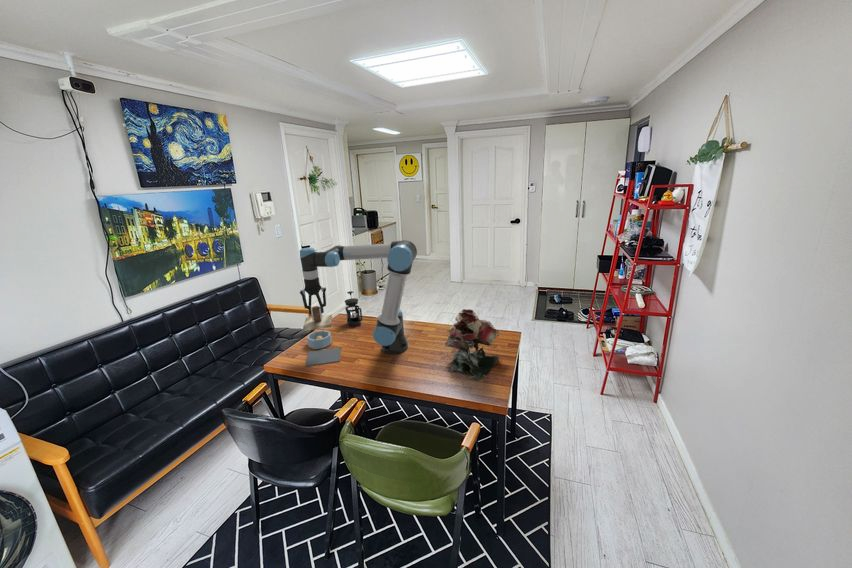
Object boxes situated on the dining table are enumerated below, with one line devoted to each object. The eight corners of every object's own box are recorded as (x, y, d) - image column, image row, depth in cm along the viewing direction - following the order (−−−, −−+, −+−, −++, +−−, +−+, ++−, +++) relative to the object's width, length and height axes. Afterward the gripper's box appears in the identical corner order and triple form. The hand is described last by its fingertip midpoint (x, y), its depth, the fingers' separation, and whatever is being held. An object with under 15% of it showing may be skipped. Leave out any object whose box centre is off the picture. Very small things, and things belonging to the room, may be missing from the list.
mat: (340, 348, 207) (340, 347, 207) (339, 361, 192) (339, 360, 192) (308, 352, 204) (308, 351, 204) (305, 366, 189) (305, 365, 189)
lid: (332, 317, 200) (329, 301, 197) (331, 327, 187) (328, 310, 184) (306, 320, 197) (303, 304, 194) (303, 330, 184) (300, 313, 181)
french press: (343, 325, 238) (339, 293, 231) (351, 320, 246) (347, 289, 239) (358, 327, 233) (354, 294, 226) (366, 322, 242) (362, 290, 235)
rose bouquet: (502, 355, 190) (503, 302, 181) (482, 383, 166) (482, 324, 157) (459, 345, 203) (457, 296, 193) (434, 370, 179) (431, 315, 170)
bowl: (331, 338, 221) (330, 329, 219) (330, 347, 209) (329, 338, 207) (310, 341, 218) (308, 332, 216) (308, 350, 206) (306, 341, 204)
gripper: (327, 274, 189) (333, 314, 196) (295, 277, 186) (302, 318, 193) (327, 277, 182) (333, 319, 189) (293, 281, 179) (300, 324, 186)
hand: (317, 319), depth 191 cm, fingers closed on lid, 4 cm apart
